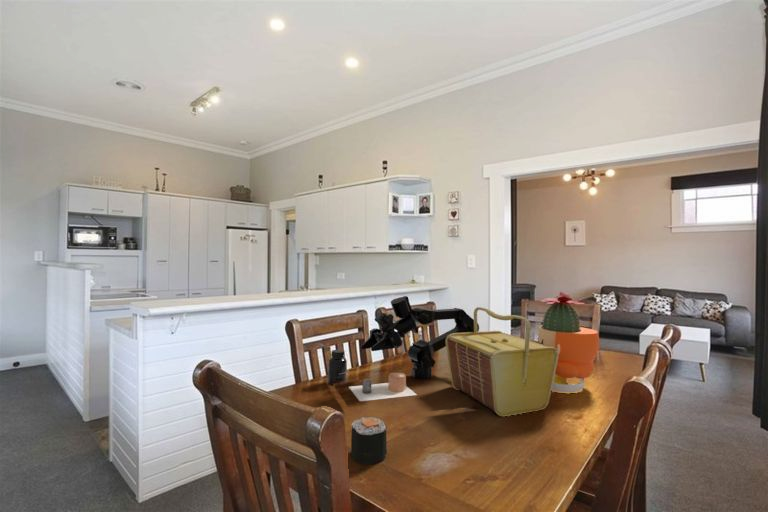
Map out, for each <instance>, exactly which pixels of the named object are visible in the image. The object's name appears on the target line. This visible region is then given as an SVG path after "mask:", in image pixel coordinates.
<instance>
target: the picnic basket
mask: <svg viewBox="0 0 768 512" xmlns="http://www.w3.org/2000/svg"><path fill="white" fill-rule="evenodd" d="M479 311H483V312H485V313H486V314H487V315H488V316H490V317H491V318H493V319H496V320H500V321H511V320H514V319H516V320H521V321H524V323H525V325H526V326H525V338H522V337H519V336H516V335H512V334H508V333H505V332H502V331H501V330H489V331H486V330H485V331H484V330H483V331H478V332H477V323H478V312H479ZM473 320H474V332H466V333H452V334H450V335H448V336H447V337H446V341H445V343H446V347H445V349H446V355H447V361H448V369H449V375H450V379H451V382H450V383H451V385H452V386H453V388H454V389H455V390H458V391H461V392H462V393H464V394H466V395H468V396H469V397H471V398H472V399H475V400H476V401H477V402H479V403H480V404H482V405H484V406H485V407H487V408H489V409H490V410H492V411H493V412H495V413H496V415H498V416H500V417H505V416H507V417H512V416H511V415H514V416H517V414H520V415H523V414H522V413H526V412H532V411H536V410H542V409H543V410H545V409H546V408H547V406H548V405H549V402H550V398H551V394H552V392H551V390H552V385H553V380H554V375H555V371H556V366H557V361H558V356H559V353H558V351H557V349H556V348H554V347H549V346H545V345H542V344H539V342H535V341H532V340H531V322H530V320H528V319H527V317H524V316H521V315H516V314H514V315H513V314H511V315H510V314H508V315H507V314H506V315H503V314H502V315H501V314H499V313H495V312H494V311H492V310H490V309H489V308H486V307H481V306H477V307H476V308H474V310H473ZM543 410H542V411H543ZM505 418H506V417H505Z"/></svg>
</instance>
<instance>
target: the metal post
mask: <svg viewBox="0 0 768 512" xmlns="http://www.w3.org/2000/svg"><path fill="white" fill-rule="evenodd" d="M362 385H363V387H362V393H364V394H370V393H371V385H372V379H370V378H365V379H362Z"/></svg>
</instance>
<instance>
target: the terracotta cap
mask: <svg viewBox="0 0 768 512" xmlns="http://www.w3.org/2000/svg"><path fill="white" fill-rule="evenodd" d="M387 383H388V389H389V390H390V391H393V392H403V391H405V390H406V386H407V377H406V373H403V372H398V371H396V372H395V371H394V372H391V373H389V374H388V382H387Z"/></svg>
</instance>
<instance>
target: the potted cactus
mask: <svg viewBox="0 0 768 512" xmlns="http://www.w3.org/2000/svg"><path fill="white" fill-rule="evenodd" d="M539 302H540V303H546V305H549V306H548V307H547V309H545V313H544V314H543V316H542V315H541V318H542V319H541V321H542V323H540V326H539V327H538V332H537V333H538V334H537V341H538V342H537V343H539V344H542V345H545V346H549V347H554V348H556V349H557V351H558V353H559V356H558V361H557V366H556V371H555V375H554V380H553V385H552V390H555V391H561V392H575V391H579V390H581V389H583V387H584V388H585V379H586V378H589V377H590V376H592V374H593V373H594V369H595V364H594V361H595V359H596V358H597V356H598V354H599V350H600V344H601V343H600V337H599V331H597V330H596V329H591V328H588V327H582V326H581V325H582V323H581V322H582V319H580V315H579V313H578V311H577V307H575V308H574V305H578V306H583V305H584V306H585V305H586V303H585V302H579V300H573V299H572V298H571V297H570V294H569V293H567V292H563V291H562V292H561V291H560V292H559V294H558V295H557V296H556V297H547V298H542V300H539ZM567 378H574V379H577V380H579V381H580V382H581V383H578V384H571V385H568V381H567Z"/></svg>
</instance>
